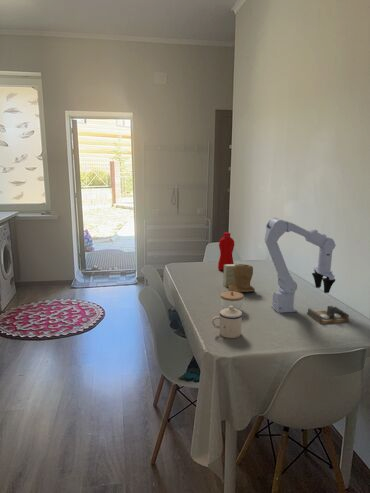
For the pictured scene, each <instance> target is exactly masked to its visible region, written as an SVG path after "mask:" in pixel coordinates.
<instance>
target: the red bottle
mask: <svg viewBox="0 0 370 493" xmlns="http://www.w3.org/2000/svg"><path fill="white" fill-rule="evenodd" d="M218 248H219V252H220V254H219V260H218V264H217V269H218V270H219V271H221V270H223V271H222V272H224V265H226V264H234V263H235V262H234V258H233V252H234V248H235V241H234V238H232V237H231V232H223V237H221V238H220V239H219V243H218ZM234 265H235V264H234Z"/></svg>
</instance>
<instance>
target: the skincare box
mask: <svg viewBox="0 0 370 493" xmlns="http://www.w3.org/2000/svg"><path fill="white" fill-rule="evenodd" d="M235 265H236V264H226V265H224V271H223V274H222V275H223V277H222V279H223V280H222V281H223V282H222V285H223V286H224V287H226V288H229V285H233V284H234V283H235V277H234V266H235Z"/></svg>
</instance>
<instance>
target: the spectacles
mask: <svg viewBox="0 0 370 493" xmlns="http://www.w3.org/2000/svg"><path fill="white" fill-rule="evenodd" d="M334 307H335V306H333V305H327V310H326V311H327V315H325V314H321V315H320V316H322V319H329V318H337V319H339V318H341V315H340V314H339V313H337V312H336V311H335V308H334ZM313 311H314V312H315V310H313Z"/></svg>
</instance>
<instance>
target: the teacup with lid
mask: <svg viewBox="0 0 370 493" xmlns="http://www.w3.org/2000/svg"><path fill="white" fill-rule="evenodd" d="M242 318H243V312H242V311H241V309H239V310H237V309H235V308H234V307H233V306H229V308H227V309H223V308H222V309H221V310H220V312H219V315H216V316H213V317H212V319H211V323H212V326H213V327H214V328H215V329H218V330H219V334H220V335H221V337H224V338H226V339H236V338H239V337H241V335H242V321H243V319H242ZM217 319H219V325H216V323H215V320H217Z"/></svg>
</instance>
